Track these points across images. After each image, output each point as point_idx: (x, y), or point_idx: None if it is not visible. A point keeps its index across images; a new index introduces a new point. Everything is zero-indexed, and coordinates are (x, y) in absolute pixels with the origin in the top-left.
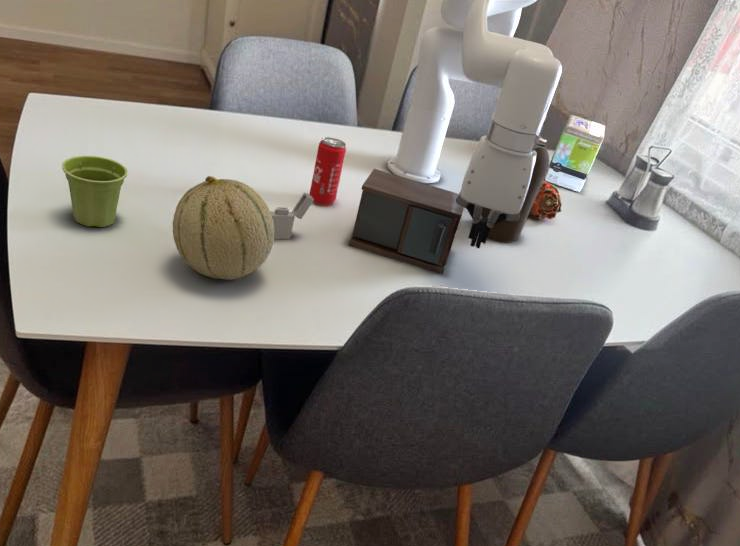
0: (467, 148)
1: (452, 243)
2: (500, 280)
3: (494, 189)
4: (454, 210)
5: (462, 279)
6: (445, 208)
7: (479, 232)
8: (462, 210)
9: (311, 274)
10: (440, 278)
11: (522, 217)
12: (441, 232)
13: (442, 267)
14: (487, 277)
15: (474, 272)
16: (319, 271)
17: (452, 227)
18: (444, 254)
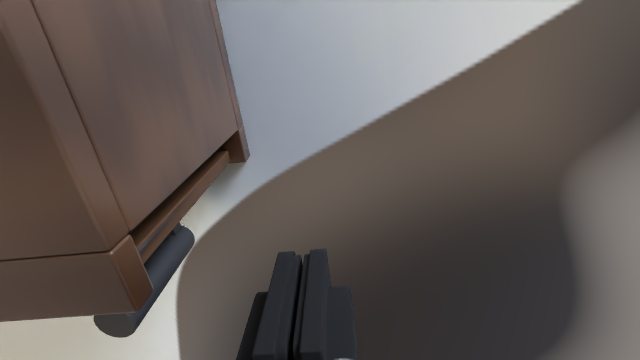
0: None
1: (208, 157)
2: (436, 43)
3: None
4: (61, 278)
5: (311, 142)
6: (6, 294)
7: (301, 286)
8: (95, 234)
9: (41, 349)
10: (253, 184)
11: None
12: (146, 313)
13: (236, 154)
14: (386, 59)
15: (336, 56)
16: (40, 333)
17: (156, 244)
18: (214, 178)
